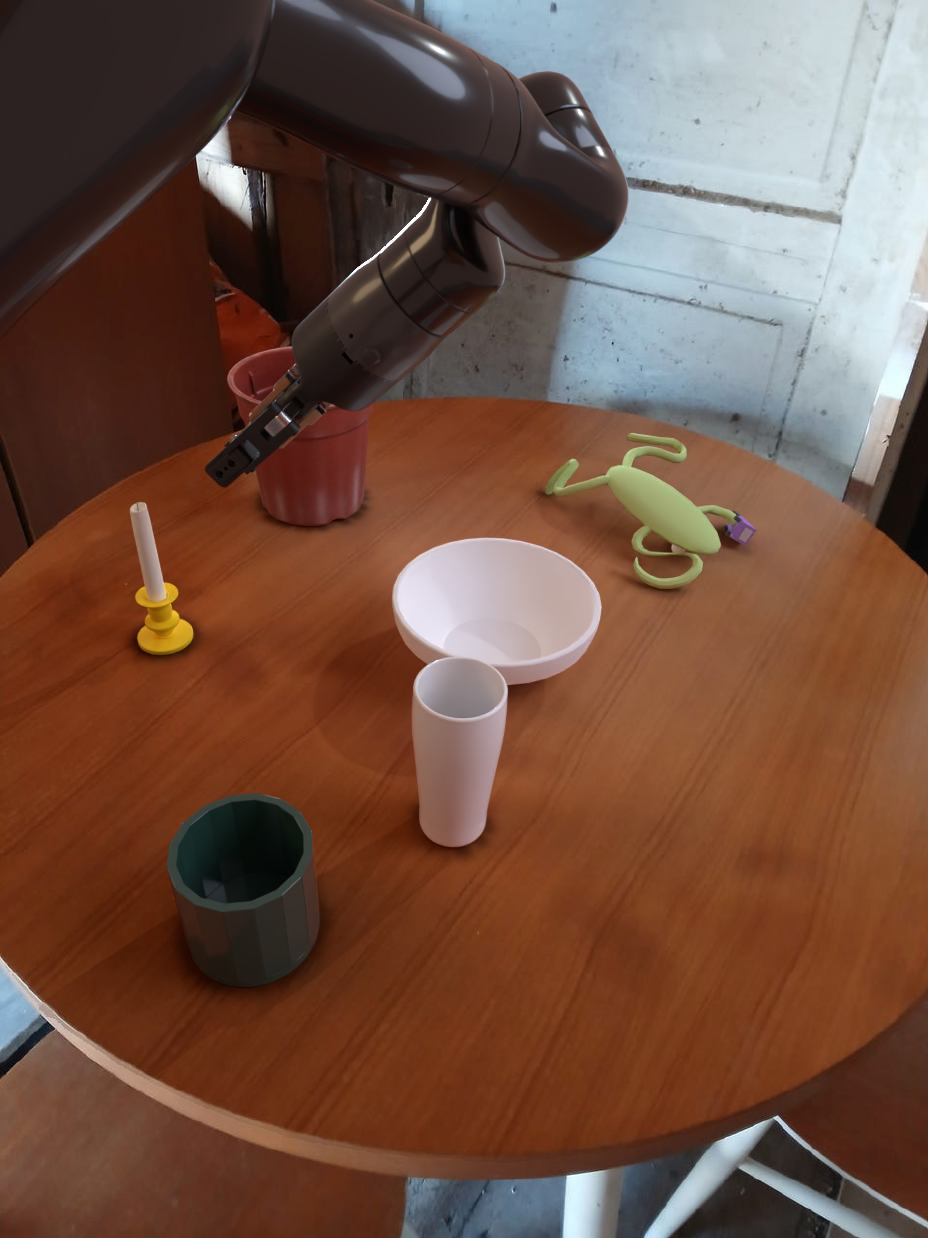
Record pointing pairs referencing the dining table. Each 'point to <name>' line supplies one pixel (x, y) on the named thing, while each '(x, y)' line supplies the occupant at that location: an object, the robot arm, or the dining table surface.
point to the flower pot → (305, 450)
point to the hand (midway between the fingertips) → (238, 451)
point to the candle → (156, 594)
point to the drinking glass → (457, 745)
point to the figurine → (659, 508)
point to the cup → (246, 888)
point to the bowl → (497, 607)
